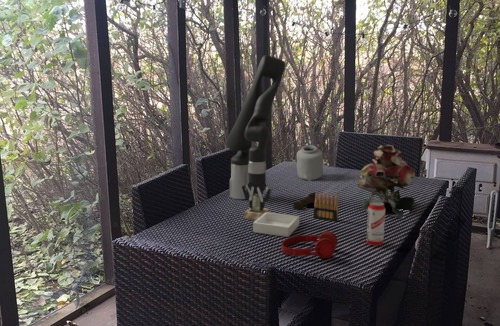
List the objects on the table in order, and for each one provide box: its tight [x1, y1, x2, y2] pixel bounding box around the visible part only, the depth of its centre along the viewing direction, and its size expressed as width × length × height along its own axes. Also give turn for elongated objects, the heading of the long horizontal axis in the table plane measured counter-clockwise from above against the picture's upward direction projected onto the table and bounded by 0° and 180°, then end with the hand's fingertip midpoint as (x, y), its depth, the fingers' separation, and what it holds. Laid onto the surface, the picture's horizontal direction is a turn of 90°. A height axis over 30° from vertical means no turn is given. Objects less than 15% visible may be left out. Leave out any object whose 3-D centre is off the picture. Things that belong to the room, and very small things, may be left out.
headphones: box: [281, 231, 339, 259], centre depth 181 cm, size 15×7×20 cm
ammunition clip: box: [313, 191, 339, 223], centre depth 215 cm, size 11×2×12 cm, turn 63°
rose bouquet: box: [356, 144, 416, 219], centre depth 230 cm, size 26×29×30 cm
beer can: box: [365, 201, 386, 247], centre depth 187 cm, size 6×6×16 cm
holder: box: [243, 206, 270, 221], centre depth 219 cm, size 8×8×3 cm
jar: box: [296, 137, 324, 181], centre depth 284 cm, size 19×15×25 cm
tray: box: [252, 211, 301, 238], centre depth 204 cm, size 15×15×4 cm
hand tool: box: [292, 192, 316, 211], centre depth 237 cm, size 19×4×5 cm, turn 142°
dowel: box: [252, 194, 262, 213], centre depth 218 cm, size 4×4×10 cm
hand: (257, 208), depth 219 cm, fingers closed on dowel, 4 cm apart
